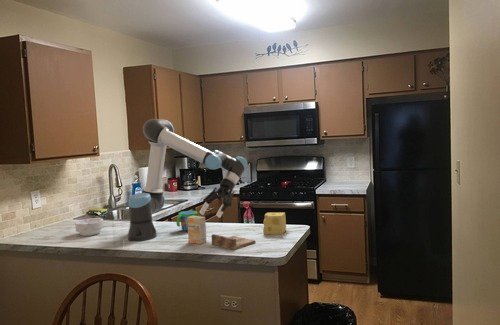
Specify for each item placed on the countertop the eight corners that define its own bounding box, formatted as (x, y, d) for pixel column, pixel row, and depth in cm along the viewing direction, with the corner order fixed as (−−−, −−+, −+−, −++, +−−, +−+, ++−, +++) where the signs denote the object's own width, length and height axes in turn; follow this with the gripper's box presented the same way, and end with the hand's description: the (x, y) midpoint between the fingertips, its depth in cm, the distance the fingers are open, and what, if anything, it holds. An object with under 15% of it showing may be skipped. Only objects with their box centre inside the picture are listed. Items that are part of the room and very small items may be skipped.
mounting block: (212, 244, 194) (211, 234, 194) (233, 238, 204) (232, 229, 204) (234, 249, 183) (233, 239, 183) (255, 242, 193) (254, 233, 192)
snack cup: (194, 226, 238) (193, 209, 237) (205, 228, 230) (204, 210, 230) (172, 231, 227) (170, 213, 226) (182, 234, 219) (181, 215, 219)
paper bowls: (94, 237, 223) (93, 223, 223) (70, 237, 226) (69, 223, 226) (109, 230, 238) (108, 217, 238) (86, 230, 241) (85, 217, 241)
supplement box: (188, 243, 200) (186, 217, 199) (194, 240, 204) (192, 215, 203) (200, 244, 195) (199, 218, 194) (207, 242, 199) (205, 216, 198)
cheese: (263, 234, 208) (262, 215, 207) (268, 229, 218) (267, 211, 218) (282, 235, 205) (281, 216, 204) (287, 230, 215) (286, 211, 215)
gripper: (249, 187, 206) (229, 221, 197) (218, 185, 224) (198, 216, 214) (241, 178, 202) (220, 213, 193) (210, 176, 220) (190, 208, 210)
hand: (209, 215), depth 203 cm, fingers open, 13 cm apart
